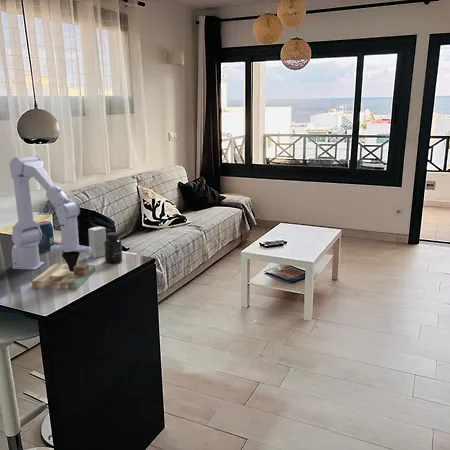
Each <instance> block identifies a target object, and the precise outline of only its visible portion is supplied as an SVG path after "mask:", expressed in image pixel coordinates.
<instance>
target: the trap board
mask: <svg viewBox="0 0 450 450" xmlns="http://www.w3.org/2000/svg"><path fill="white" fill-rule="evenodd" d="M77 264H78V263H76V265H77ZM88 266H89V272H88V273H87V274H86V275H85V276H83V275H74V272H70V270H69V267H68V264H67V263H54V264H53V265H51V266H50V267H48V268H47V269H46V270H45V271H43V272H42V273H40V274H39V275H38V276H37V277H35V278H34V279H32V281H31V284H32V289H55V290H56V289H57V290H75V291H76V290H78V289H79V288H80V287H82V286H83V284H85V283H86V281H87V280H89V278H90V277H91V276H93V275H94V274H95V273H96V271H97V270H96V265H95V264H88Z"/></svg>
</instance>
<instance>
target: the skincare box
mask: <svg viewBox="0 0 450 450" xmlns="http://www.w3.org/2000/svg"><path fill="white" fill-rule="evenodd" d="M106 230H107V229H106V227H104V226H100V225H99V226H94V227H90V228H88V247H91V250H92V252H91V253H89V256H90V257H91V258H94V259H97V258H101V257H105V245H104V243H105V241H106V240H107V231H106Z"/></svg>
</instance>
